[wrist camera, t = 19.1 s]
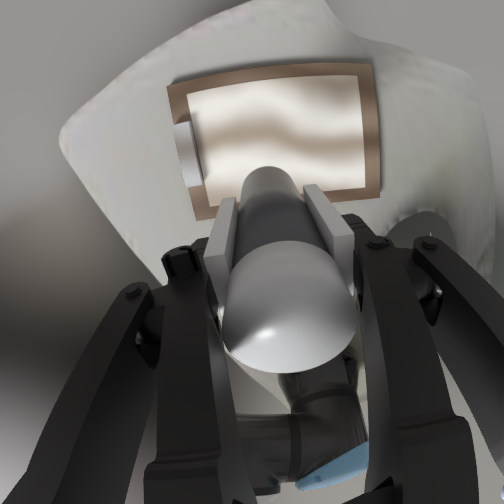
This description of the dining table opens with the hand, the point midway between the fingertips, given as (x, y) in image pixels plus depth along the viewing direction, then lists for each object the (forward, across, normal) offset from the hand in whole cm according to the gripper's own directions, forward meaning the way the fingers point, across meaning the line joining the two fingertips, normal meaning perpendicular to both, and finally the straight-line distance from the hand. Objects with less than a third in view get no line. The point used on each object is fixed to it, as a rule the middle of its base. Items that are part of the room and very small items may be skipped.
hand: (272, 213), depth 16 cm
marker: (+5, 0, 0) cm, 5 cm away
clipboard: (+16, -2, -3) cm, 16 cm away
